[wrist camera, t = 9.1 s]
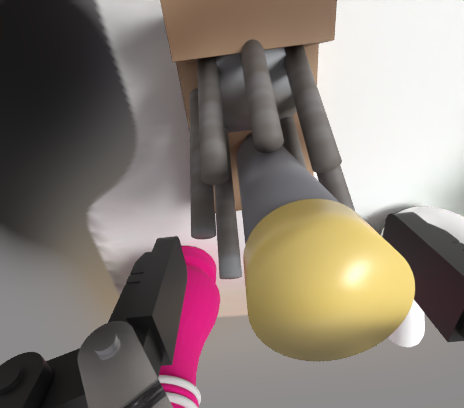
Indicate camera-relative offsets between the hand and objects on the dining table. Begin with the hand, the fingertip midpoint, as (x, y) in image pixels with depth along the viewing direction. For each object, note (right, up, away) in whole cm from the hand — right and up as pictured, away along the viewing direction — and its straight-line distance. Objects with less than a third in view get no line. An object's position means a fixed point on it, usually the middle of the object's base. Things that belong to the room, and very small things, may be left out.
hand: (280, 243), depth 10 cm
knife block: (-1, +8, +10) cm, 13 cm away
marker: (0, +4, +6) cm, 7 cm away
